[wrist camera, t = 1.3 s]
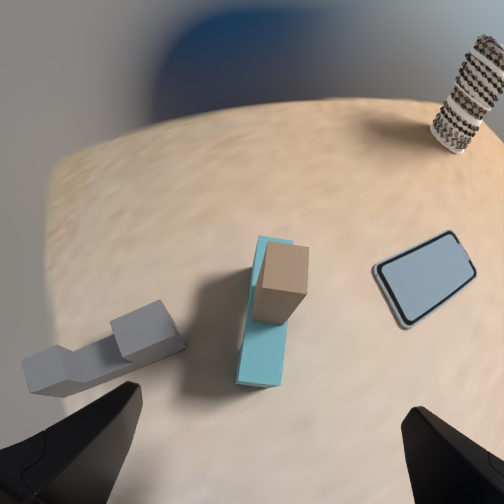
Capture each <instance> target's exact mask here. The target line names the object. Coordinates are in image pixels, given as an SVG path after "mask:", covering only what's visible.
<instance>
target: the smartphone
mask: <svg viewBox="0 0 504 504" xmlns="http://www.w3.org/2000/svg"><path fill="white" fill-rule="evenodd" d="M373 272H374V275H375V277H376V279H377V281H378V282H379V284H380V286H381V288H382V290H383V292H384V294H385V296H387V298H388V300H389V303H390V305H391V307H392V309H393V311H394V313H395V315H396V317H397V319H398V321H399V323H400V325H401V326H402V327H403V328H405V329H409V328H412V327H414V326H415V325H416V324H418V323H419V322H421V321H422V320H424V319H425V318H426V317H428V316H429V315H431V314H432V313H433V312H435V311H436V310H437V309H439V308H440V307H441V306H443V305H444V304H445V303H447V302H448V301H449V300H450V299H452V298H453V297H454V296H456V295H457V294H459V293H460V292H461V291H462V290H463V289H464V288H465V287H467V286H468V285H469V284H470V283H471V282H472V281H474V280H475V279H476V278H477V270H476V268H475V266H474V264H473V262H472V261H471V259H470V257H469V255H468V254H467V252H466V250H465V249H464V247H463V245H462V244H461V242H460V241H459V239H458V237H457V236H456V234H455V233H454V232H453V231H452V230H450V229H447V230H445V231H443V232H441V233H439V234H437V235H435V236H433V237H431V238H429V239H427V240H425V241H423V242H421V243H419V244H417V245H414V246H412V247H410V248H408V249H406V250H404V251H402V252H400V253H397V254H395V255H393V256H391V257H389V258H386V259H384V260H382V261H380V262H378V263H377V264H376V265H375V266H374V269H373Z"/></svg>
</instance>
